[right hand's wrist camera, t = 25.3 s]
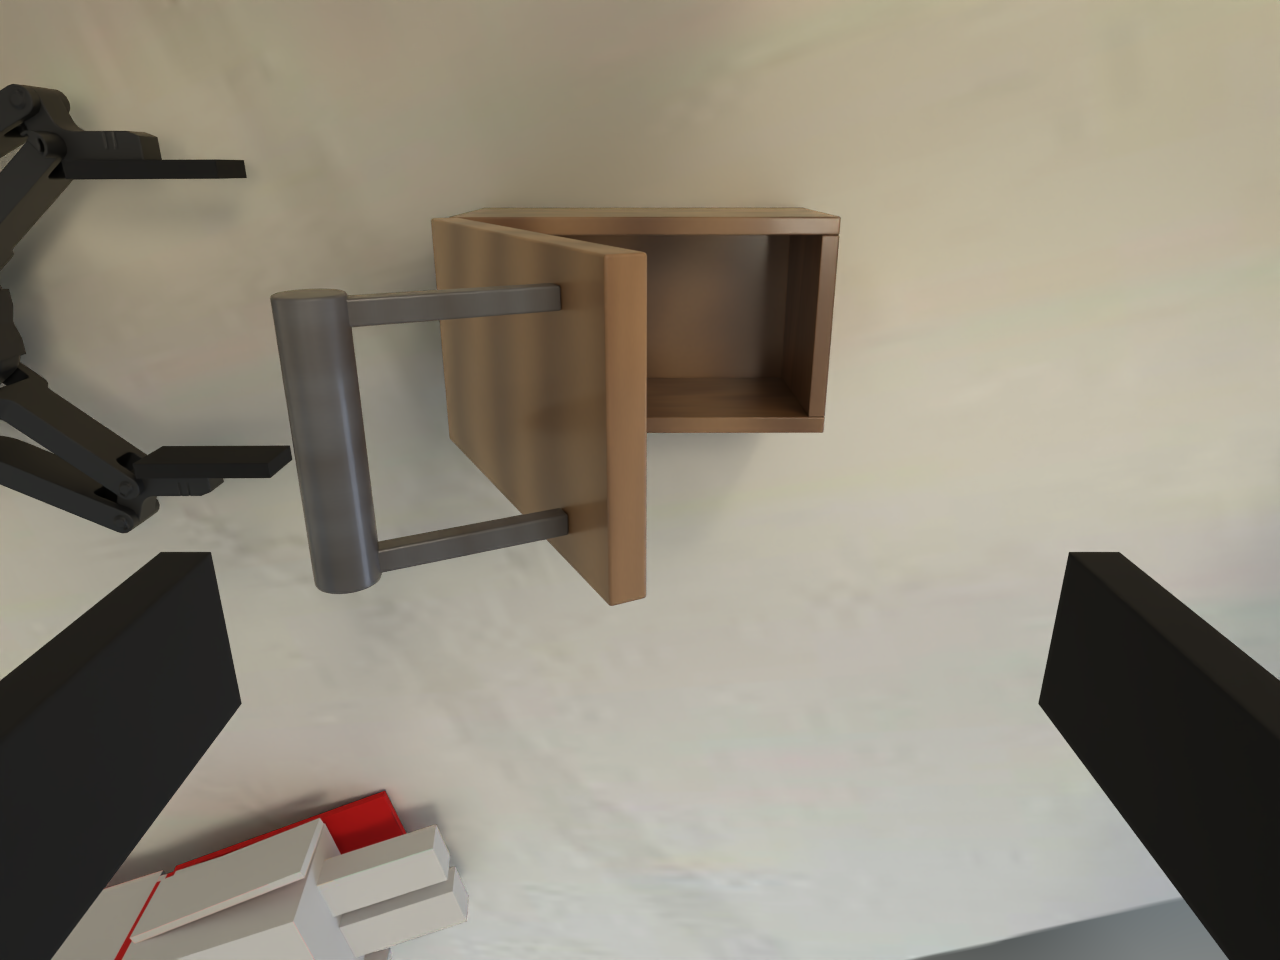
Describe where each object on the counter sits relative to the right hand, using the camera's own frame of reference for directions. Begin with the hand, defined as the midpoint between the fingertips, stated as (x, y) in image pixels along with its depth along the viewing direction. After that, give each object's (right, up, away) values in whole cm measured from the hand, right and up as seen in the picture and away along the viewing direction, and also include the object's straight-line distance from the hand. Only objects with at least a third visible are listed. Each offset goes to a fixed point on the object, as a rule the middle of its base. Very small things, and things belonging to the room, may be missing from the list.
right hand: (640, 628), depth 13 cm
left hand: (-18, +10, +26) cm, 33 cm away
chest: (0, +12, +32) cm, 34 cm away
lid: (-4, +6, +16) cm, 18 cm away
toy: (-27, -25, +46) cm, 59 cm away
